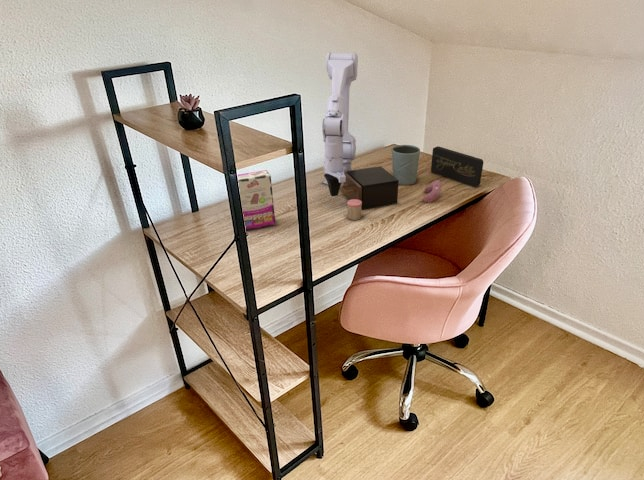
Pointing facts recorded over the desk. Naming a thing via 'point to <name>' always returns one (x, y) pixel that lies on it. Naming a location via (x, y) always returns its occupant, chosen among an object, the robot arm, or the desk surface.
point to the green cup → (405, 163)
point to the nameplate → (457, 166)
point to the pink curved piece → (432, 191)
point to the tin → (354, 209)
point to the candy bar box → (257, 199)
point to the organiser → (376, 186)
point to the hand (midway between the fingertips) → (334, 195)
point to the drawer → (351, 188)
